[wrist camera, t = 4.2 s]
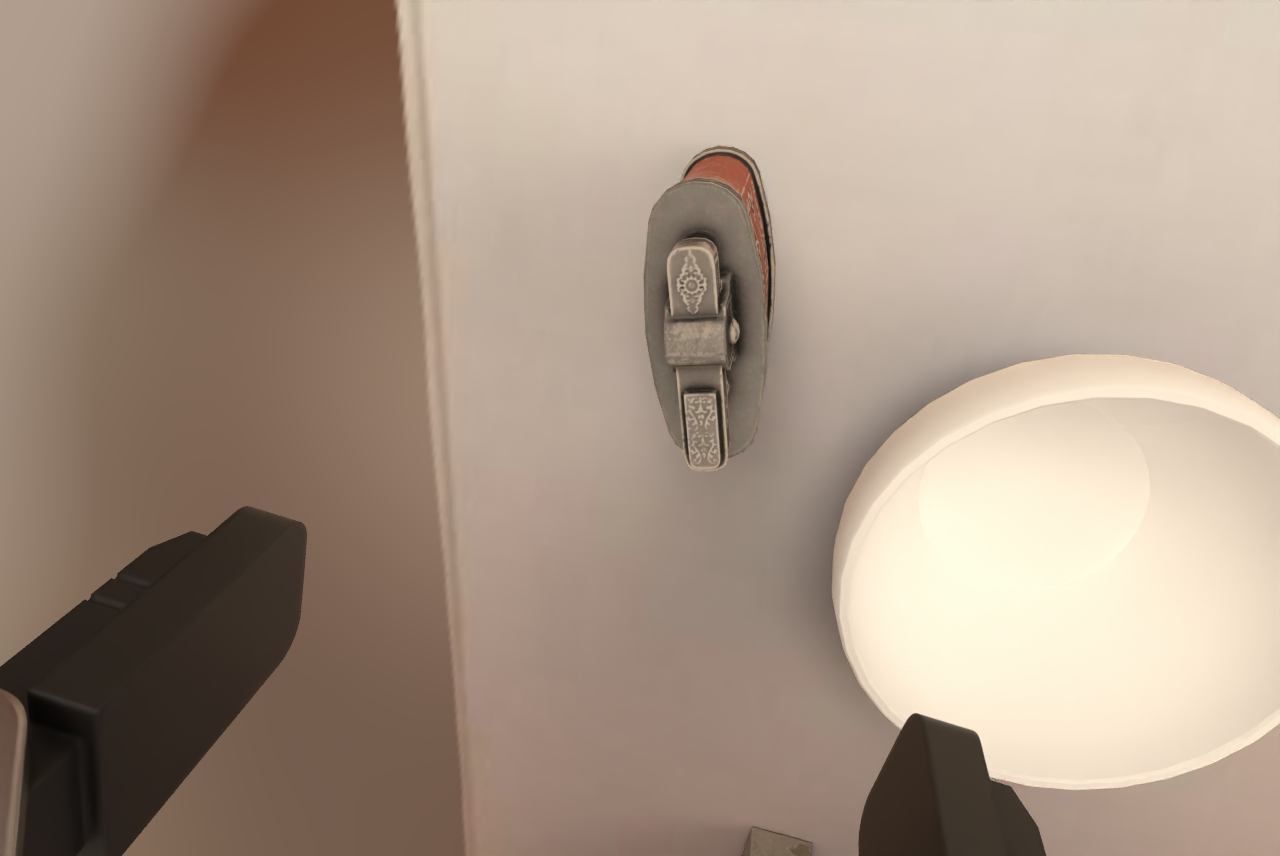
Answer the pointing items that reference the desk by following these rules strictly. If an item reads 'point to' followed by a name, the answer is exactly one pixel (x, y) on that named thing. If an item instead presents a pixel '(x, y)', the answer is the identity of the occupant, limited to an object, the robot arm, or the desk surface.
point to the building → (775, 845)
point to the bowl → (1072, 570)
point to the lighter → (710, 304)
